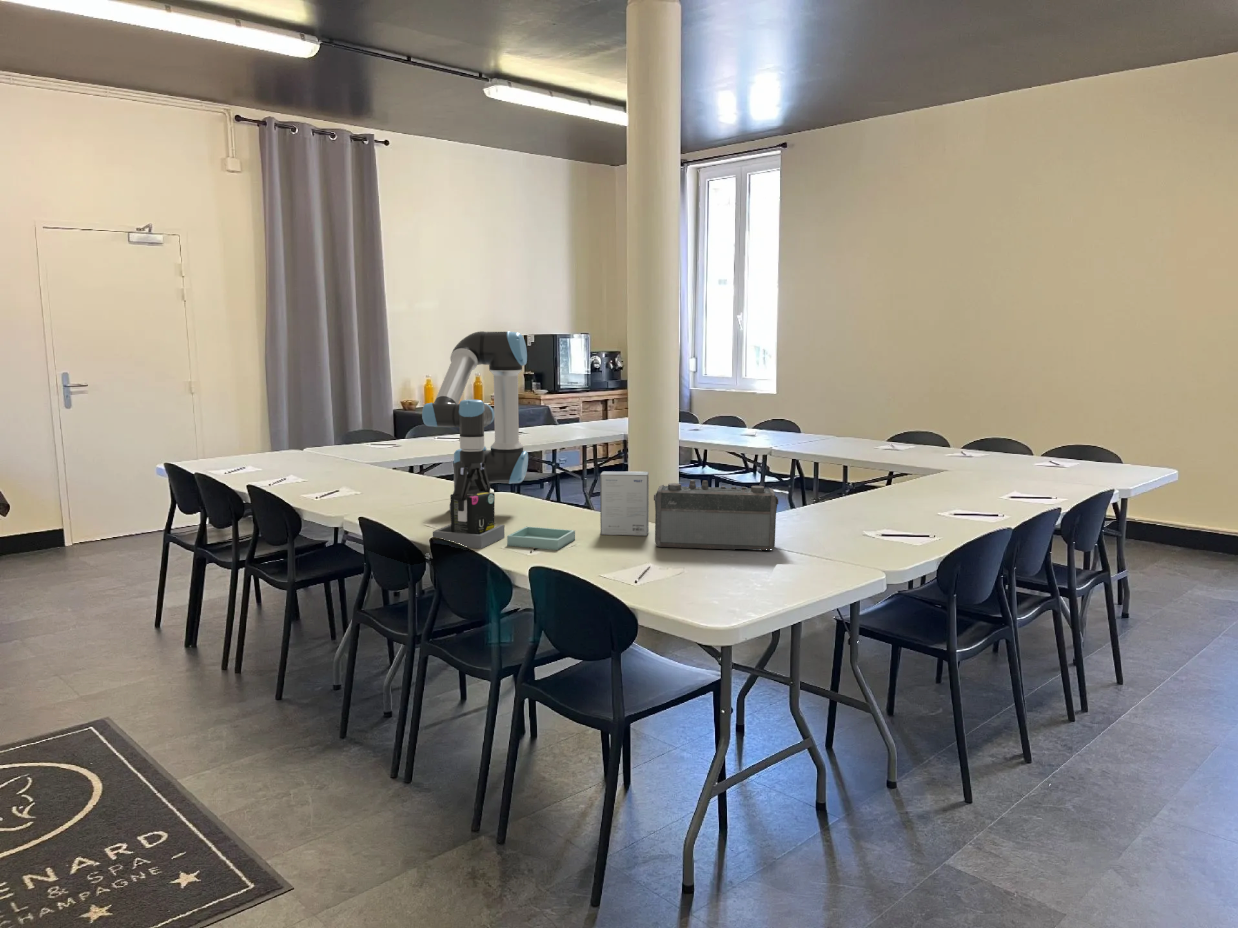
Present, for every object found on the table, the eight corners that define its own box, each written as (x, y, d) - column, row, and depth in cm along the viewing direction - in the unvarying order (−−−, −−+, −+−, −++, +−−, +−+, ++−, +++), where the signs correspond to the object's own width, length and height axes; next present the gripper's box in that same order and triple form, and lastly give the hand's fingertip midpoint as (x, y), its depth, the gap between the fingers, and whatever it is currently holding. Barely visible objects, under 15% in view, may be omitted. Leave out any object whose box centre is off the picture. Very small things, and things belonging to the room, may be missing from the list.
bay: (458, 533, 287) (457, 521, 287) (504, 537, 282) (504, 525, 282) (432, 544, 272) (432, 531, 272) (481, 548, 267) (481, 535, 267)
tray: (526, 535, 285) (526, 526, 285) (575, 539, 280) (575, 530, 280) (507, 545, 272) (507, 535, 271) (557, 550, 267) (557, 540, 266)
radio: (651, 548, 270) (652, 483, 268) (655, 537, 285) (656, 476, 282) (777, 553, 266) (780, 487, 263) (774, 542, 280) (777, 479, 278)
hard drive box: (649, 531, 294) (649, 471, 291) (647, 536, 286) (648, 475, 283) (602, 529, 295) (602, 470, 292) (599, 534, 288) (599, 473, 285)
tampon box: (472, 544, 273) (472, 497, 271) (450, 540, 278) (449, 494, 275) (495, 537, 282) (495, 492, 280) (473, 534, 287) (473, 489, 285)
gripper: (479, 444, 289) (480, 509, 292) (441, 453, 265) (442, 523, 268) (500, 445, 286) (500, 510, 289) (464, 455, 263) (464, 525, 266)
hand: (472, 517), depth 279 cm, fingers open, 13 cm apart
